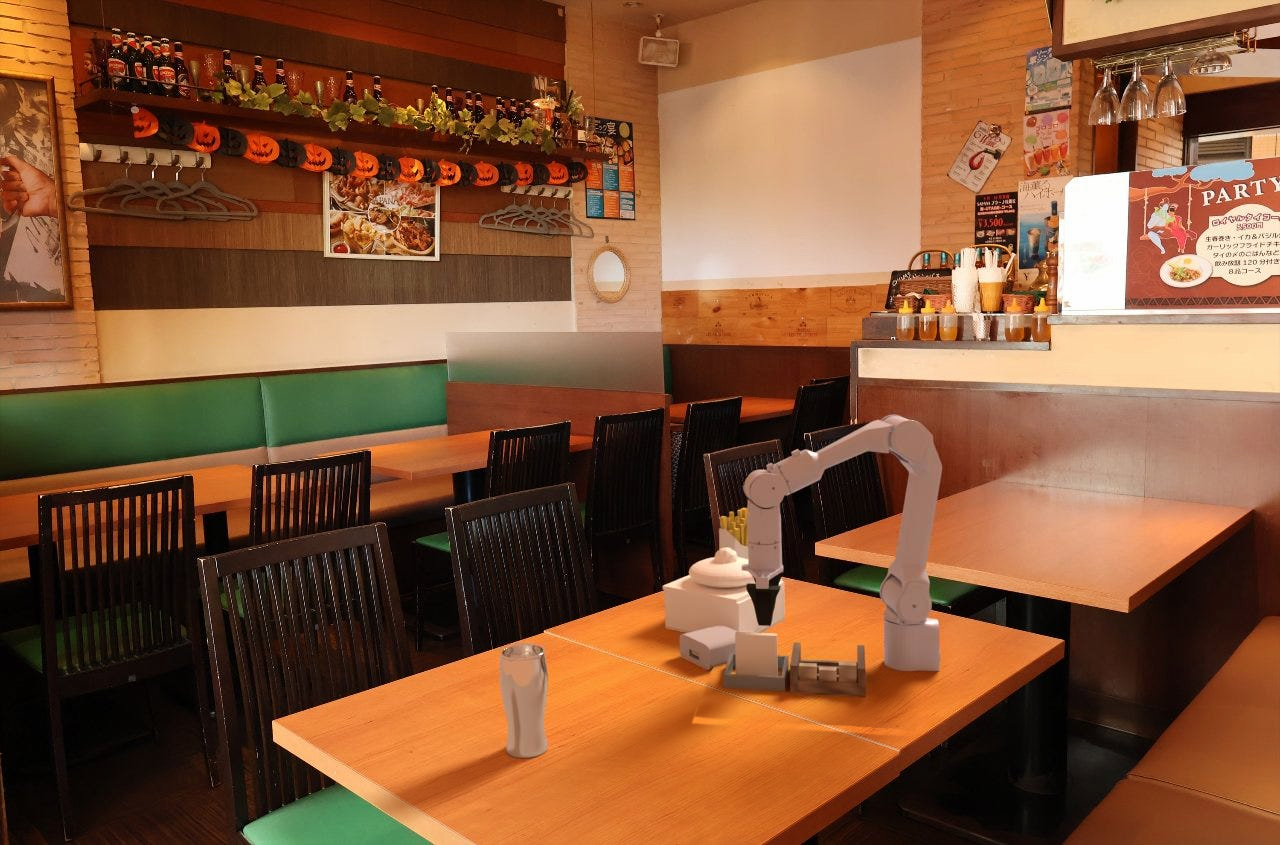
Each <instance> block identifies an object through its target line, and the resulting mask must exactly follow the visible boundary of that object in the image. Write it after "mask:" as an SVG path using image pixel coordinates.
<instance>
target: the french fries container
mask: <svg viewBox="0 0 1280 845" xmlns="http://www.w3.org/2000/svg"><path fill="white" fill-rule="evenodd" d="M747 514H748V509H747V507H742V508H740V509H738V510H737V515H736V516H735V512H734V511H729V514H728V515H729V516H728V517H727V516H726V515H725V516H724V515H722V516H720V517H719V522H720V524H719V525H720V527H719V528H718V537H719V538H718V539H719V542H718V543H719V544H718V545H719V547H718V548H719V550H720V549H721V548H725V547H727V548H731V549H732V550H734V551H735V552H736V554H737V556H738V557H740V558H745V559H748V530H747ZM719 550H718V551H719Z"/></svg>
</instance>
